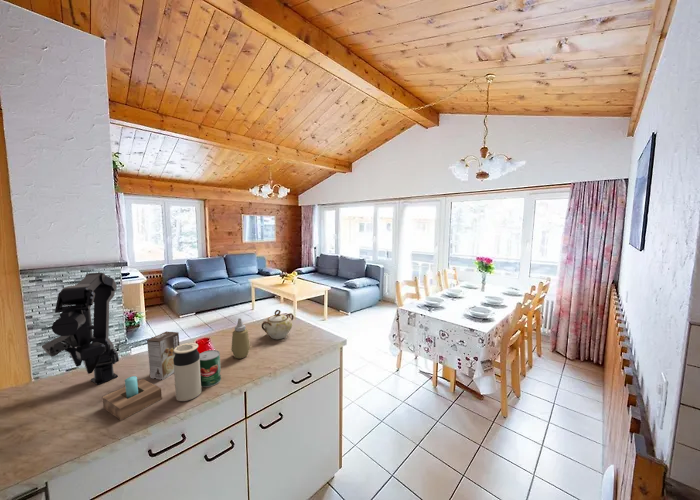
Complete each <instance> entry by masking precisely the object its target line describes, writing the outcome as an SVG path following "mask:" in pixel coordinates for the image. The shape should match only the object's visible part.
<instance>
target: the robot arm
mask: <svg viewBox="0 0 700 500" xmlns="http://www.w3.org/2000/svg"><path fill="white" fill-rule="evenodd" d="M84 276H85V277H84V278H82V279H81V280H80V281H79V282H78V283H77V284H73V285H69V286H66V287H63V288H62V289H61V290H60V291H59V292H58V295H57V301H56V306H55V310H54V313H55V314H57V313H59V318H57V319H56V320H55V321H54V322H53V323H52V325H51V330H52V332H53V333H54V334H55V335H57V337H56V338H54V339H52V340H50V341H48V342H46V343H44V344H42V345H41V348H42V349H43V350H44V352H45V353H46V354H47V356H50V357H52V358H53V357H56V356H58V355H59V354H60V353H61V352H63V351H65V352H67V353H69V355H70V358H71V360H72V361H73V363H74V365H75V367H80V366H81V365H82V363H84V367H85V371H86V373H87V374H88V375H90V374H92V373H93V378H92V377H91V378H90V381H91V382H92V383H94V384H95V385H98V386H99V385H102V384H104V383H106V382H108V381H110V380H114V379H115V378H118V374H116V373H115V371H114V365H115V364H116V363H119V361H120V356H119V352H118V351H117V350H116V348H115V346H114V343H113V342H112V340H110V338H109V335H110V334H109V333H110V331H109V330H110V326H109V325H110V302H111V300H112V299H113V297H115V293H116V291H117V282H116V280H115V279H114V278H112V277H111V276H107V275H106V274H105V272H90V273H86V274H85V275H84ZM92 306H93V322H92V315H91V313H92V312H91V308H92Z"/></svg>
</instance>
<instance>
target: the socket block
mask: <svg viewBox="0 0 700 500" xmlns="http://www.w3.org/2000/svg"><path fill="white" fill-rule="evenodd" d="M137 384H138V394H137V395H135V396H133V397H131V398H128V399H127V398H126V387H125V386H124V387H121V388H119V389H118V390H115V391H113V392H110V393H108V394H105V395H104V396H102V397H101V398H102V406H103V409H104V410H106V412H108V413H110V414H111V415H112V416H114V417H115V418H116V419H118V420H120V421H123V420H125V419H127V418H129V417H130V416H132V415H135V414H136V413H138V412H140V411H142V410H144V409H145V408H147V407H149V406H151V405H153V404H154V403H157V402H158V401H161V400H162V399H163V395H162V388H161V387H159V386H157V385H156V384H153V383H152V382H149V380H146V379H144V378H142V379H140V380H137Z"/></svg>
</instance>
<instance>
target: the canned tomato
mask: <svg viewBox="0 0 700 500" xmlns="http://www.w3.org/2000/svg"><path fill="white" fill-rule="evenodd" d="M220 353H221V352H220V351H219V350H216V349H212V350H210V349H209V350H205V351H203V352H201V353H200V352H199V356H200V375H201V388H211V387H213V386H216V385H217V384H219V383H220V382H221V380H222V374H221V371H222V370H221V356H220V355H221V354H220Z"/></svg>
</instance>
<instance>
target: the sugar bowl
mask: <svg viewBox="0 0 700 500" xmlns="http://www.w3.org/2000/svg"><path fill="white" fill-rule="evenodd" d="M281 312H282V311H281V310H279V309H276V310H275V311H274V315H271V316H269V317H267V319H266V320H264V321H263V322H262V323H261V330H263V331H264V332H265V333H266V334H267V336H270V338H272V339H273V340H281V339H284V338H286V337H287V336H288V334H289V333H290V331H291V330H292V327H293V323H294V322H293V320H294V318H295V317H294V314H293V313H291V312H290V313H287V314H281Z"/></svg>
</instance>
